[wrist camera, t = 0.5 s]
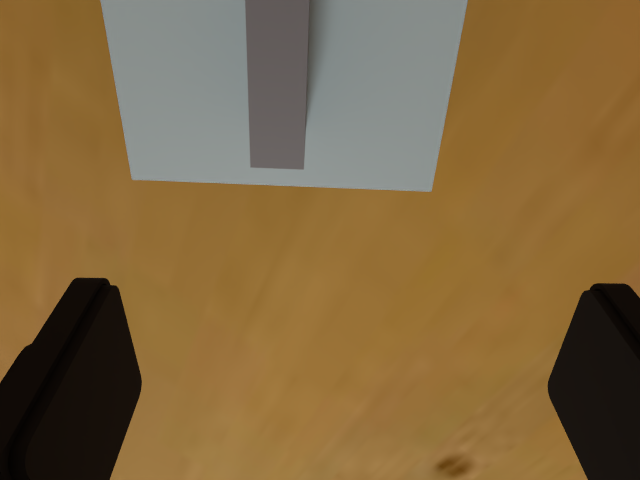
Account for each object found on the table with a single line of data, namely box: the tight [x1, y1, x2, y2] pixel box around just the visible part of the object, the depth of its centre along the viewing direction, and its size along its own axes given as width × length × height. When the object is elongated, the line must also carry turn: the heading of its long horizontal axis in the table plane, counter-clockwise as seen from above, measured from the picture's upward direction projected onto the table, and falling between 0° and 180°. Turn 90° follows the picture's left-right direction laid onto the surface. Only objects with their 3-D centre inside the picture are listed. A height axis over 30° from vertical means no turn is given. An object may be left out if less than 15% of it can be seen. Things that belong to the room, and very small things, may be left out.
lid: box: [101, 0, 468, 192], centre depth 24 cm, size 15×17×7 cm
